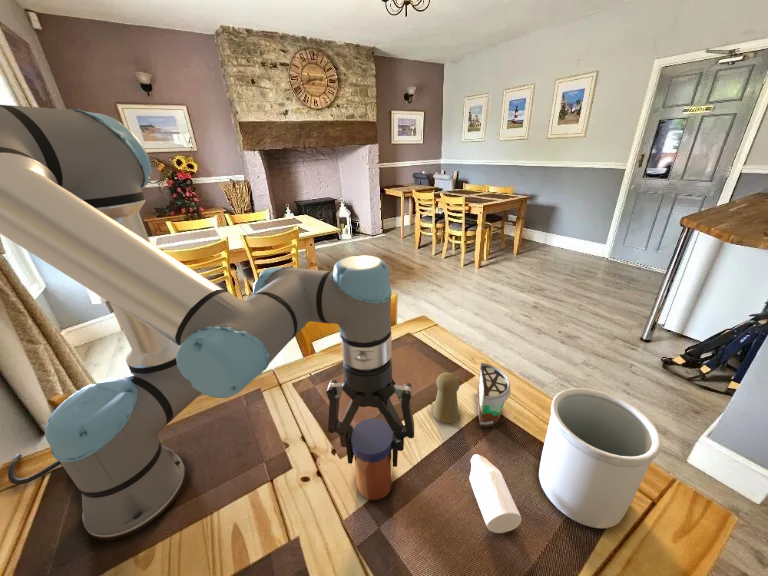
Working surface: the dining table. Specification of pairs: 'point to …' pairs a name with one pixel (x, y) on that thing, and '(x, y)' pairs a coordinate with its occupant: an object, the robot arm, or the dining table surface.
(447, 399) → the olive brown pawn
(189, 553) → the dining table surface
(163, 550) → the dining table surface
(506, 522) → the white dropper bottle
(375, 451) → the lid
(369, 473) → the jar
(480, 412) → the food container
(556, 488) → the utensil holder
